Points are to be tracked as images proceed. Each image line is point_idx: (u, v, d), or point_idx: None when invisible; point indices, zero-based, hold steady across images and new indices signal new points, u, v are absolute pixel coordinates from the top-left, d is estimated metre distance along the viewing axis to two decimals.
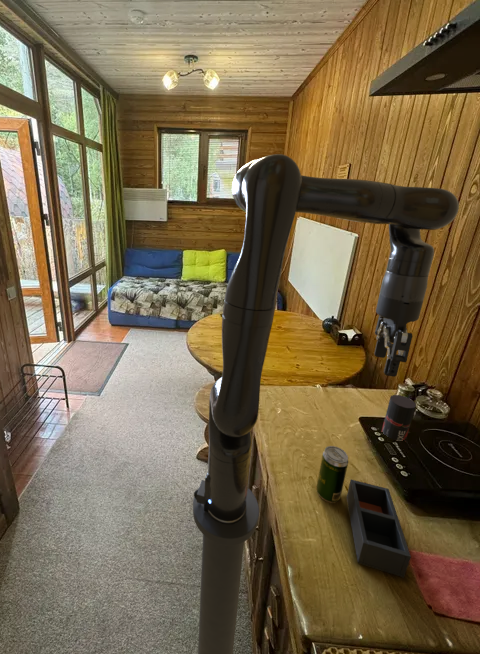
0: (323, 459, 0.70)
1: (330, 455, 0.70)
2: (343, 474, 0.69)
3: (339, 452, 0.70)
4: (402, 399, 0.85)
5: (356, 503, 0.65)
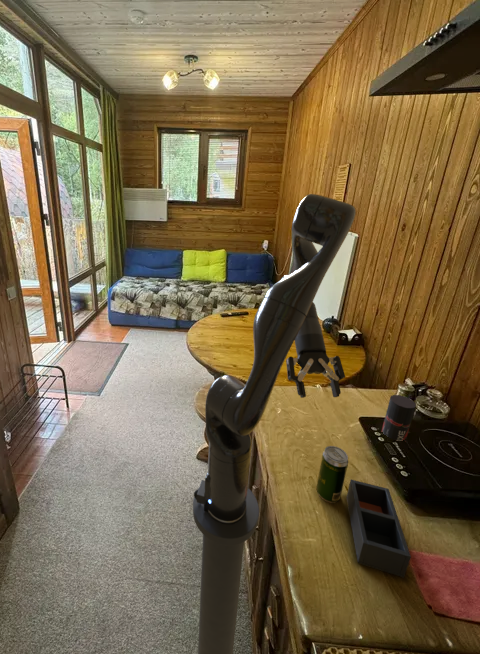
0: (323, 459, 0.70)
1: (330, 455, 0.70)
2: (343, 474, 0.69)
3: (339, 452, 0.70)
4: (402, 399, 0.85)
5: (356, 503, 0.65)
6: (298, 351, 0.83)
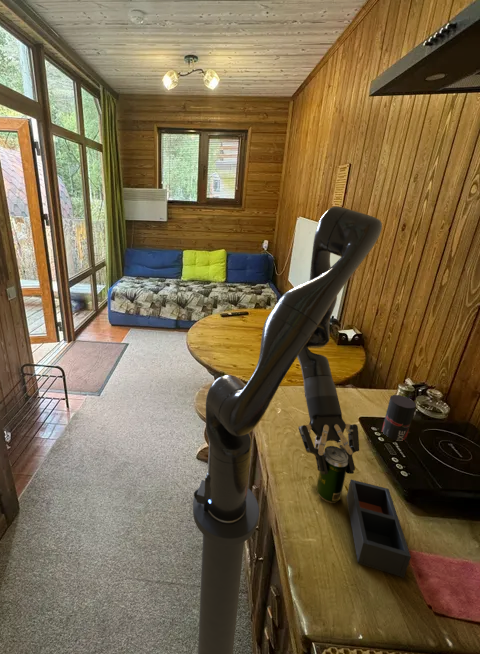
0: None
1: (330, 455, 0.70)
2: (343, 474, 0.69)
3: (339, 452, 0.70)
4: (402, 399, 0.85)
5: (356, 503, 0.65)
6: (311, 414, 0.74)
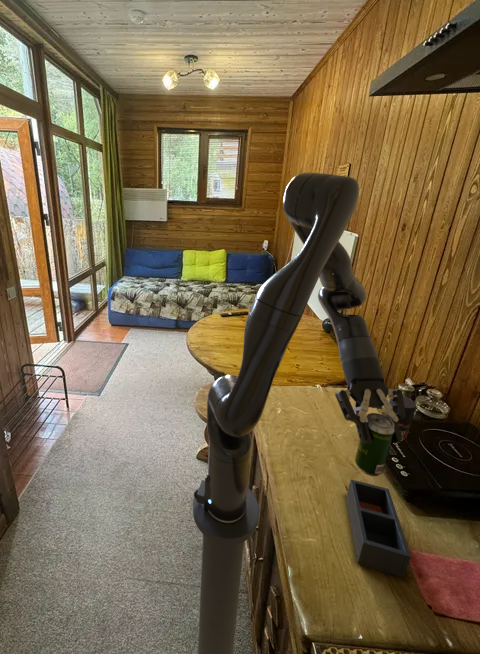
0: None
1: (374, 422, 0.62)
2: (389, 443, 0.61)
3: (383, 419, 0.62)
4: None
5: (356, 503, 0.65)
6: (349, 379, 0.66)
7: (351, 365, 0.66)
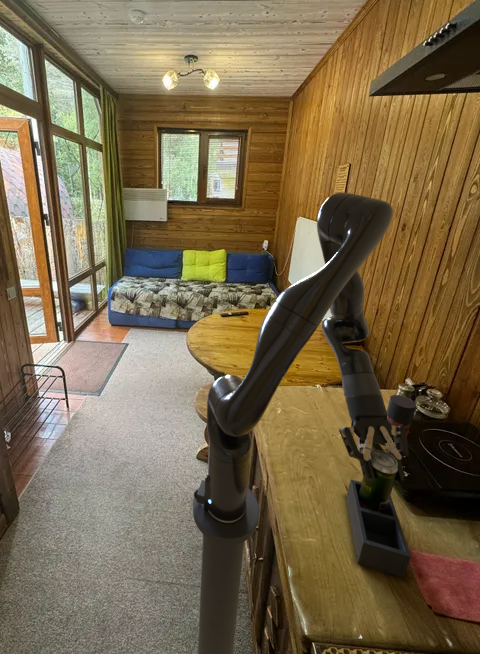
0: None
1: (377, 460, 0.63)
2: (392, 481, 0.62)
3: (387, 457, 0.64)
4: (402, 399, 0.85)
5: (356, 503, 0.65)
6: (353, 415, 0.68)
7: (355, 401, 0.68)
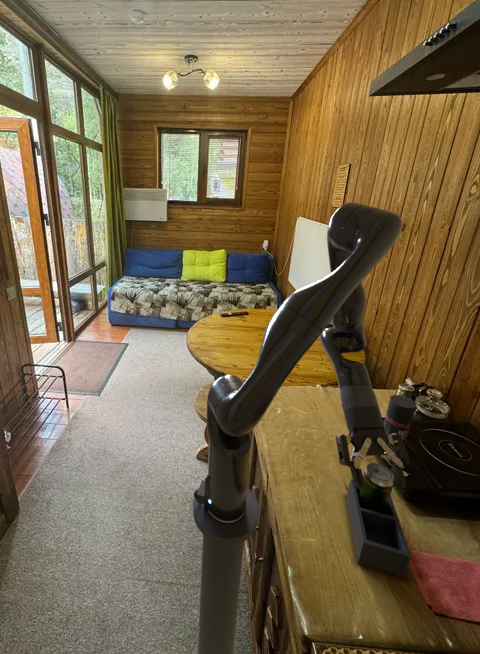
0: (365, 477, 0.65)
1: (374, 473, 0.64)
2: (388, 494, 0.63)
3: (383, 470, 0.65)
4: (402, 399, 0.85)
5: (356, 503, 0.65)
6: (351, 427, 0.68)
7: (352, 413, 0.69)
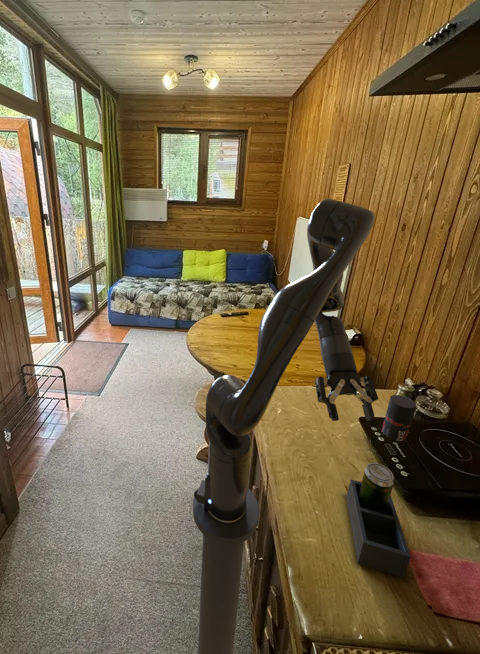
0: (365, 477, 0.65)
1: (374, 473, 0.64)
2: (388, 494, 0.63)
3: (383, 470, 0.65)
4: (402, 399, 0.85)
5: (356, 503, 0.65)
6: (328, 371, 0.79)
7: (329, 359, 0.79)
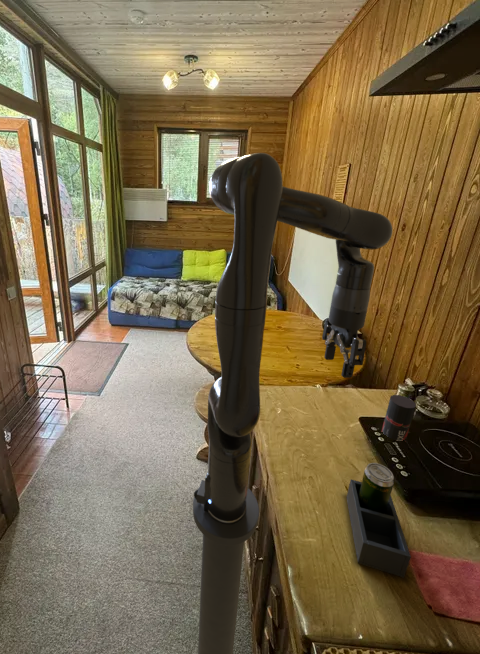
0: (365, 477, 0.65)
1: (374, 473, 0.64)
2: (388, 494, 0.63)
3: (383, 470, 0.65)
4: (402, 399, 0.85)
5: (356, 503, 0.65)
6: None
7: None
